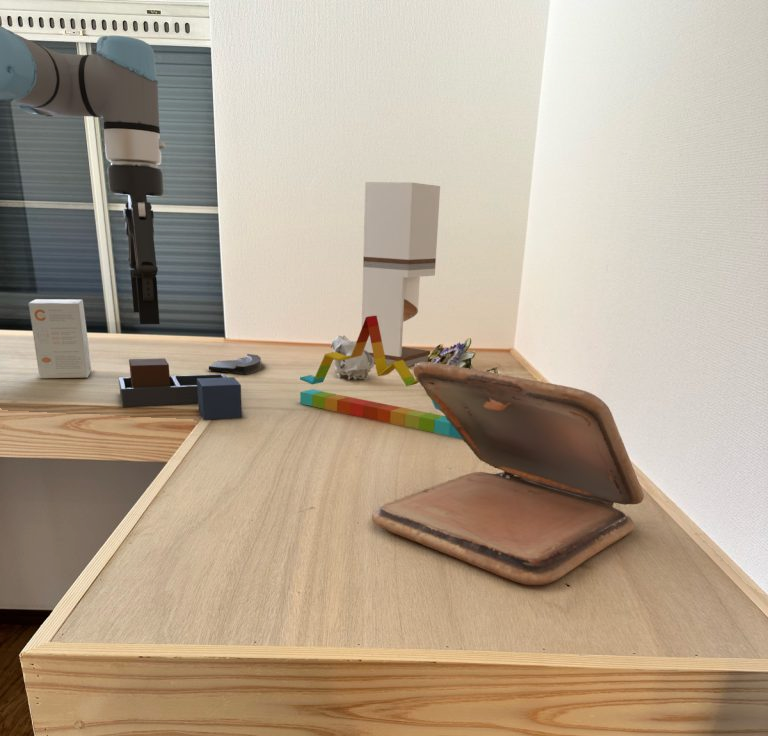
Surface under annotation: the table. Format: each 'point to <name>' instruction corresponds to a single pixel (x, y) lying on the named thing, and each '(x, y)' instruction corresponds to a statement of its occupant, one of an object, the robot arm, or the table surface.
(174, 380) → the holder
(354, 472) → the table surface
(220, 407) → the pad
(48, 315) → the small box
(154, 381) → the brown rectangular block
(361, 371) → the crumpled paper
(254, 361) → the curved wedge
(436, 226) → the notched striped pillar
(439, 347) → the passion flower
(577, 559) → the case
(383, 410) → the multicoloured zigzag triangular frame
